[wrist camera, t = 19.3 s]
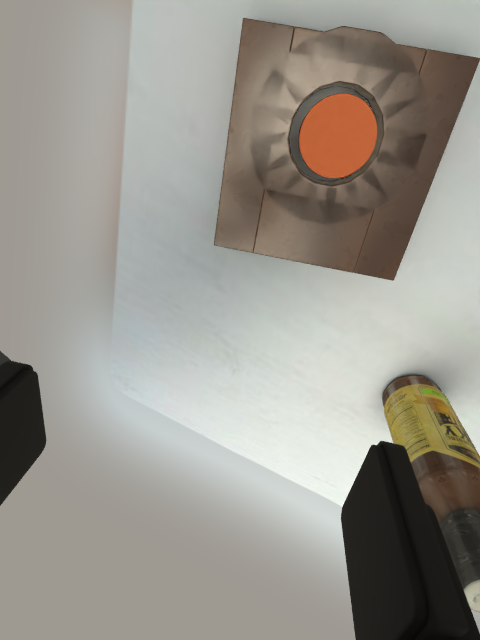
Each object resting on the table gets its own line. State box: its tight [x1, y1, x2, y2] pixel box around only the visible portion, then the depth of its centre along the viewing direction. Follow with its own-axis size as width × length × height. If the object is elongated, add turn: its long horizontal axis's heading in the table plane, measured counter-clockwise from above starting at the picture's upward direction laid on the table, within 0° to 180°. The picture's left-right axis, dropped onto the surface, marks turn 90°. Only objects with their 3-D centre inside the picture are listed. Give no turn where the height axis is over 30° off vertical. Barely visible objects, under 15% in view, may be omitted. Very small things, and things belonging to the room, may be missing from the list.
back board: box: [214, 18, 480, 280], centre depth 29 cm, size 16×16×2 cm
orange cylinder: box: [299, 94, 377, 178], centre depth 27 cm, size 5×5×5 cm
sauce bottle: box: [382, 376, 480, 613], centre depth 31 cm, size 6×6×20 cm
